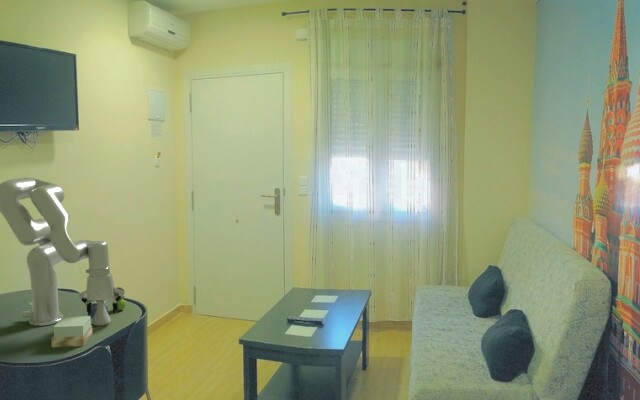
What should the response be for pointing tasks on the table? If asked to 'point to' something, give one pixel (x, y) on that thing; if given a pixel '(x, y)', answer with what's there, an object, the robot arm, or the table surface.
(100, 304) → the flask
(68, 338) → the tower base block
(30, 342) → the table surface
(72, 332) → the tower top block
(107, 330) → the table surface
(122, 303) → the snail figurine
